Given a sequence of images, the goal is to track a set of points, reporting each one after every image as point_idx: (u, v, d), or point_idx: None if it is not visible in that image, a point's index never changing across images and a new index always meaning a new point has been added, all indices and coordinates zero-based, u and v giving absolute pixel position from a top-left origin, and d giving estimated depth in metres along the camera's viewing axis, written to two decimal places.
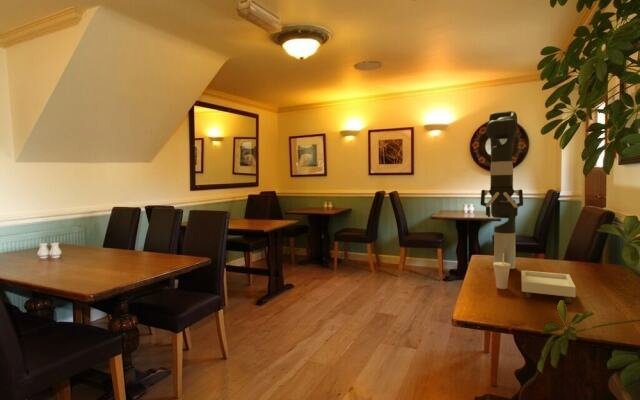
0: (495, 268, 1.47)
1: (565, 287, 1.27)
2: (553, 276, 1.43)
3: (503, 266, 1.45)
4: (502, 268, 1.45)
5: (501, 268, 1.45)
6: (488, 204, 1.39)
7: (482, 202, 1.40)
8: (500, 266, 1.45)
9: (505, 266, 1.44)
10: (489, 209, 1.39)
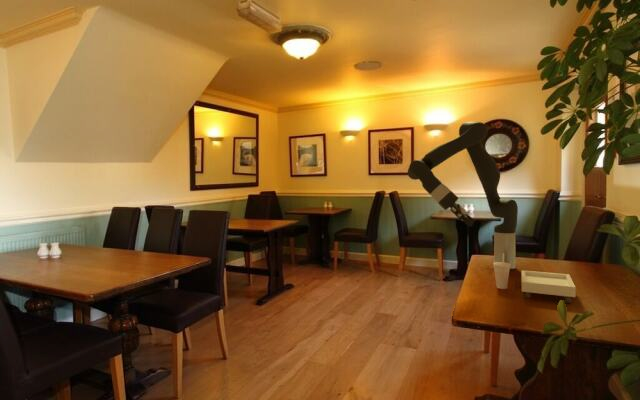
0: (495, 268, 1.47)
1: (565, 287, 1.27)
2: (553, 276, 1.43)
3: (503, 266, 1.45)
4: (502, 268, 1.45)
5: (501, 268, 1.45)
6: None
7: None
8: (500, 266, 1.45)
9: (505, 266, 1.44)
10: None
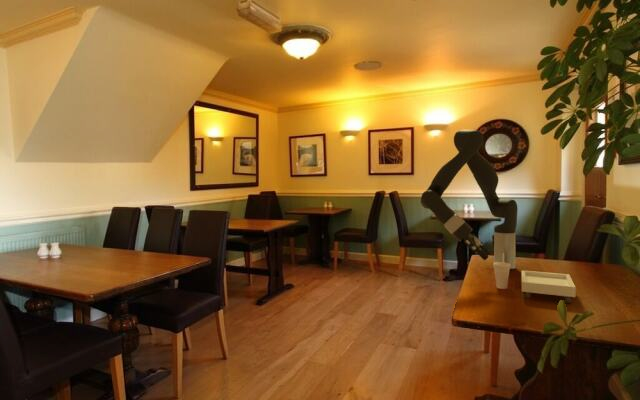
0: (495, 268, 1.47)
1: (565, 287, 1.27)
2: (553, 276, 1.43)
3: (503, 266, 1.45)
4: (502, 268, 1.45)
5: (501, 268, 1.45)
6: None
7: None
8: (500, 266, 1.45)
9: (505, 266, 1.44)
10: None
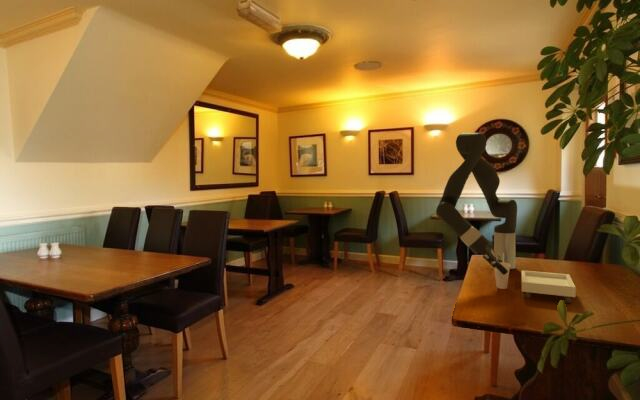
0: (495, 268, 1.47)
1: (565, 287, 1.27)
2: (553, 276, 1.43)
3: None
4: None
5: None
6: None
7: None
8: None
9: (505, 266, 1.44)
10: None
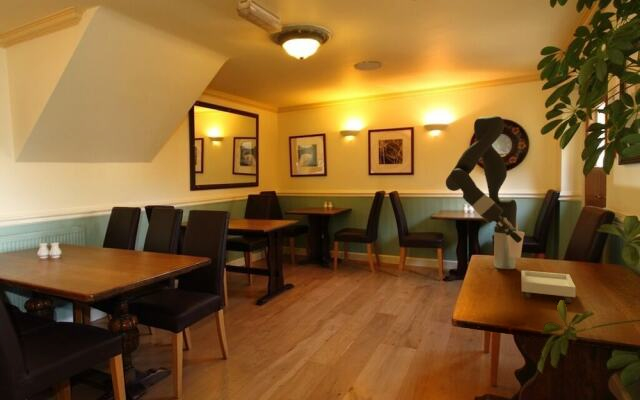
0: (508, 237, 1.43)
1: (565, 287, 1.27)
2: (553, 276, 1.43)
3: (517, 234, 1.40)
4: None
5: None
6: (508, 231, 1.48)
7: None
8: None
9: (519, 234, 1.40)
10: None
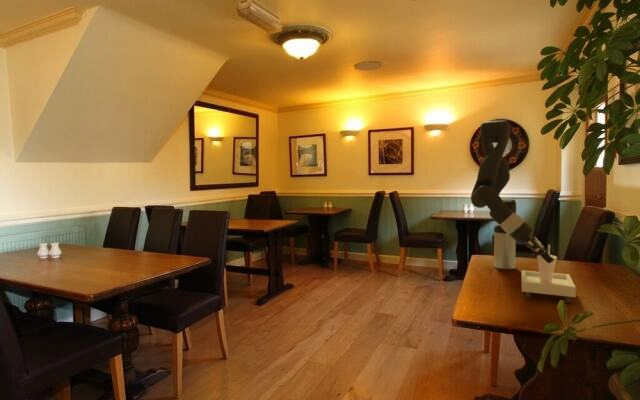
0: (540, 261, 1.36)
1: (565, 287, 1.27)
2: (553, 276, 1.43)
3: None
4: None
5: None
6: None
7: None
8: None
9: None
10: None
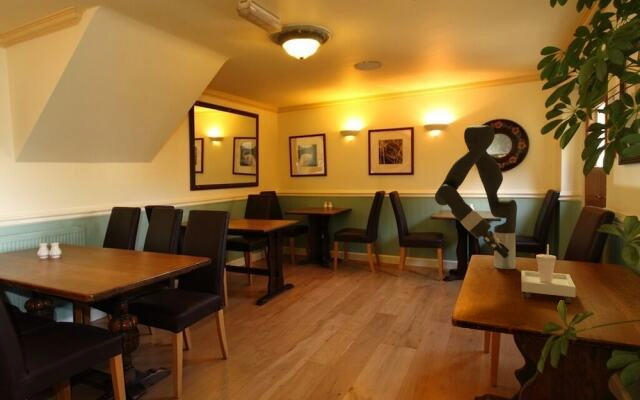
0: (539, 261, 1.36)
1: (565, 287, 1.27)
2: (553, 276, 1.43)
3: (549, 258, 1.34)
4: (547, 260, 1.34)
5: (546, 260, 1.34)
6: None
7: None
8: (545, 258, 1.34)
9: (551, 258, 1.34)
10: None
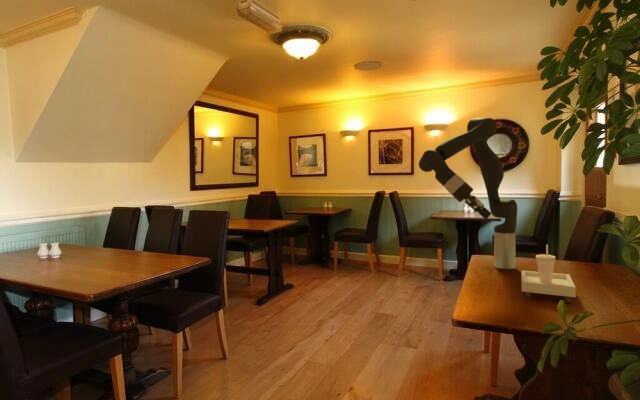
0: (539, 261, 1.36)
1: (565, 287, 1.27)
2: (553, 276, 1.43)
3: (548, 259, 1.34)
4: (547, 261, 1.34)
5: (546, 261, 1.34)
6: None
7: None
8: (545, 259, 1.34)
9: (550, 258, 1.34)
10: None
